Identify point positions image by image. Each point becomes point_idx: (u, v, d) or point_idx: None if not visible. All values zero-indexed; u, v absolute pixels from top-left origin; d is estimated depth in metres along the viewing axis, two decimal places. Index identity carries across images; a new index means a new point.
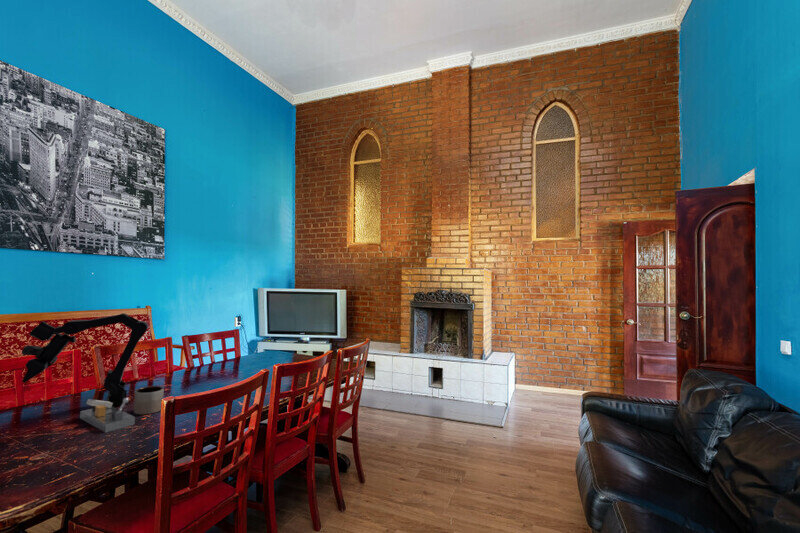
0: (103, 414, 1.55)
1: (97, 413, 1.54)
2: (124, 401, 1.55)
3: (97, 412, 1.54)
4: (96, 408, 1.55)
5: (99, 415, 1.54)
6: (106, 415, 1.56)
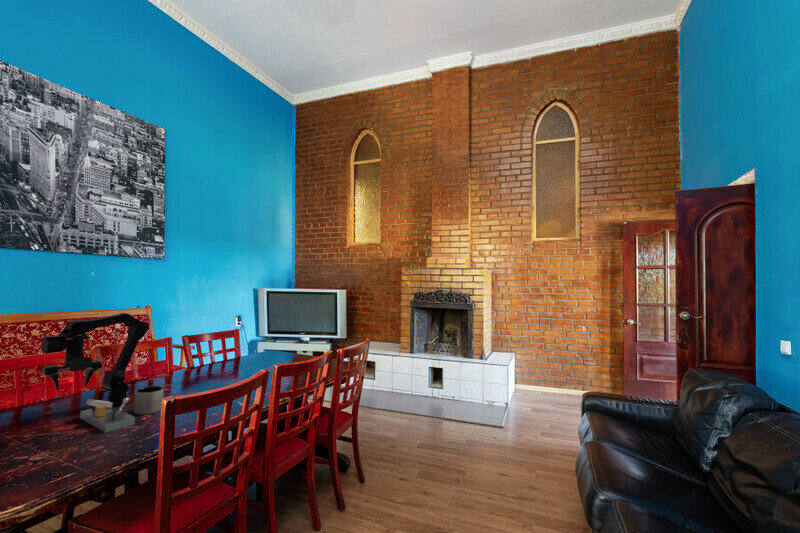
0: (103, 414, 1.55)
1: (97, 413, 1.54)
2: (124, 401, 1.55)
3: (97, 412, 1.54)
4: (96, 408, 1.55)
5: (99, 415, 1.54)
6: (106, 415, 1.56)
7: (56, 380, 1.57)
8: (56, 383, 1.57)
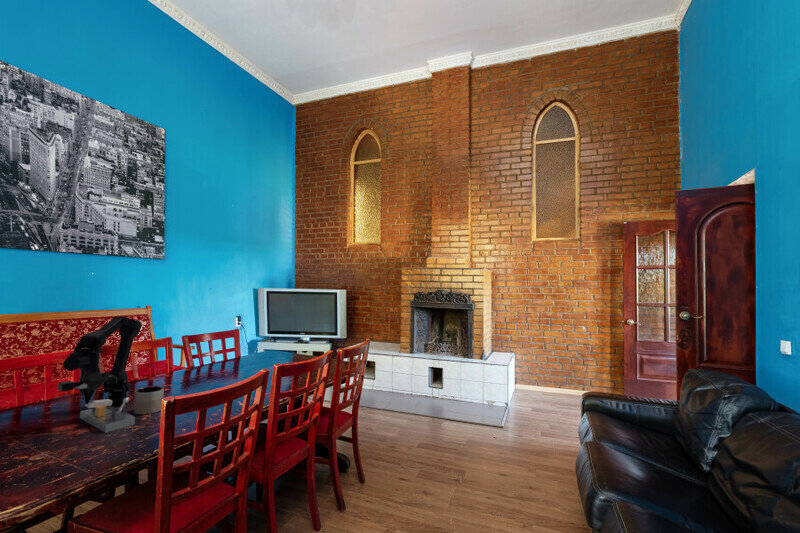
0: (103, 414, 1.55)
1: (97, 413, 1.54)
2: (124, 401, 1.55)
3: (97, 412, 1.54)
4: (96, 408, 1.55)
5: (99, 415, 1.54)
6: (106, 415, 1.56)
7: (86, 394, 1.57)
8: (86, 397, 1.58)
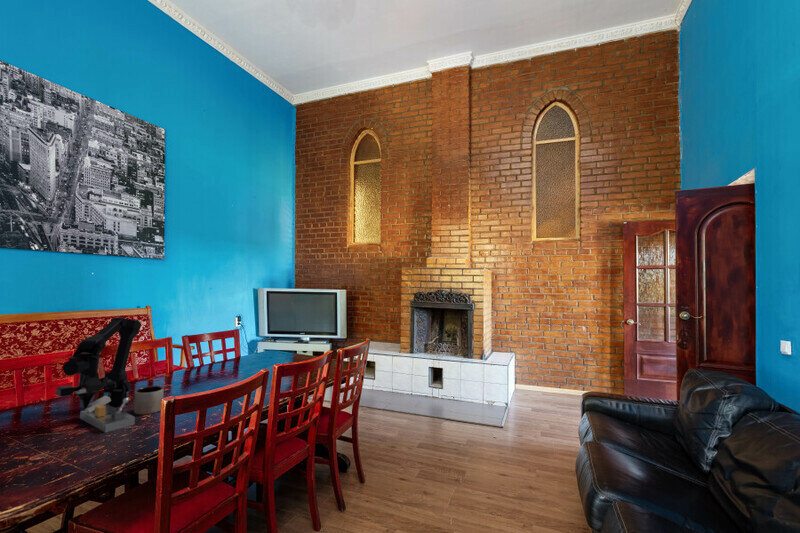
0: (103, 414, 1.55)
1: (97, 413, 1.54)
2: (124, 401, 1.55)
3: (97, 412, 1.54)
4: (96, 408, 1.55)
5: (99, 415, 1.54)
6: (106, 415, 1.56)
7: (85, 399, 1.57)
8: (84, 402, 1.57)
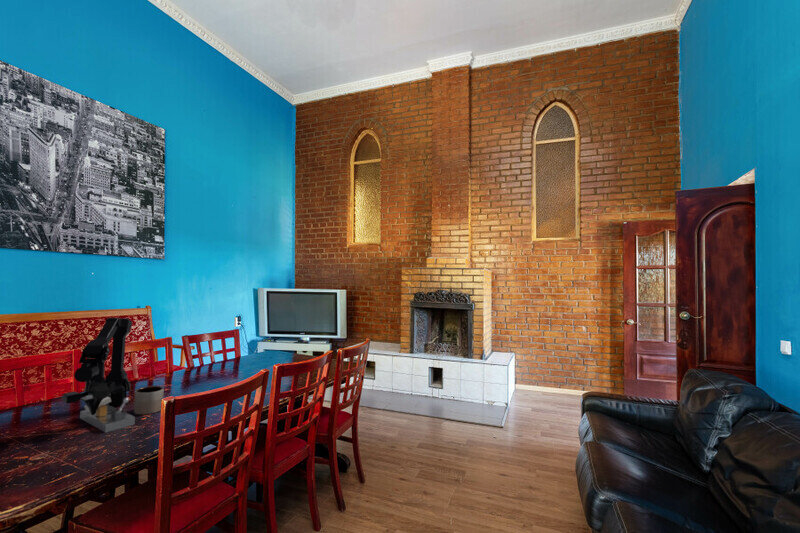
0: (104, 414, 1.55)
1: (98, 413, 1.54)
2: (124, 401, 1.55)
3: (98, 412, 1.54)
4: (97, 408, 1.55)
5: (100, 415, 1.54)
6: (106, 415, 1.56)
7: (91, 405, 1.52)
8: (91, 408, 1.52)
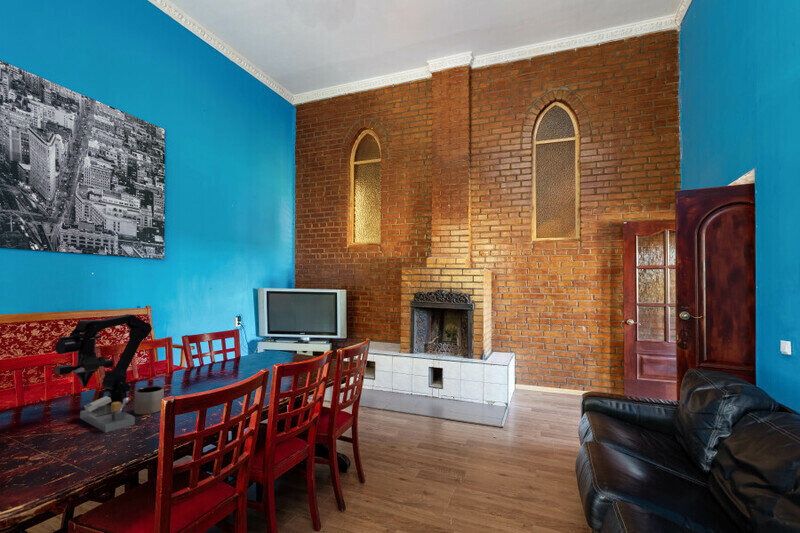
0: None
1: (113, 409, 1.59)
2: (124, 401, 1.55)
3: (113, 409, 1.59)
4: (112, 404, 1.59)
5: None
6: (106, 415, 1.56)
7: (83, 377, 1.62)
8: (83, 380, 1.62)
